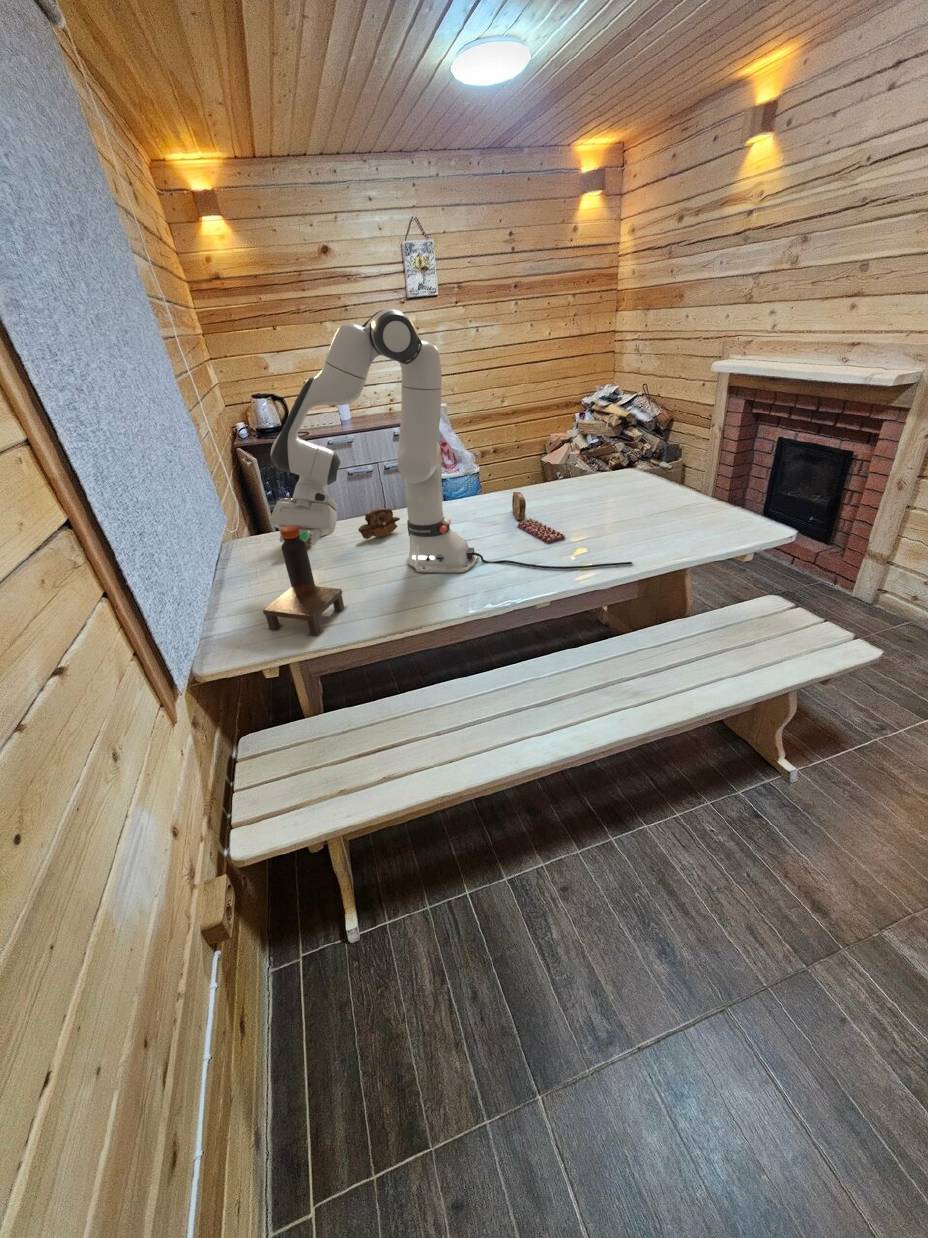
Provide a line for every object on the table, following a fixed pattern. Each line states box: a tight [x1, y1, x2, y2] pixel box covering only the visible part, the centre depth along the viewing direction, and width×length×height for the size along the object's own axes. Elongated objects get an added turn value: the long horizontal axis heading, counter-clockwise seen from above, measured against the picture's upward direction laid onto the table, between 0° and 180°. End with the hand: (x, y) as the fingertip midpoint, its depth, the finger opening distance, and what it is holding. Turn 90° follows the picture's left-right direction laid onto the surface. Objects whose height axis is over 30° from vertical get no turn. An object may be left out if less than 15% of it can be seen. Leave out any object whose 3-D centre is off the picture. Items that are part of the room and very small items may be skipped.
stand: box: [262, 584, 345, 636], centre depth 141 cm, size 15×15×6 cm
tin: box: [511, 491, 527, 521], centre depth 199 cm, size 15×3×8 cm, turn 5°
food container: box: [299, 530, 311, 551], centre depth 182 cm, size 12×6×10 cm, turn 168°
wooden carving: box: [357, 508, 401, 540], centre depth 188 cm, size 16×5×10 cm, turn 131°
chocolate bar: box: [517, 518, 566, 544], centre depth 186 cm, size 7×19×2 cm, turn 28°
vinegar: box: [280, 525, 316, 588], centre depth 152 cm, size 7×7×20 cm
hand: (296, 543), depth 151 cm, fingers open, 8 cm apart
